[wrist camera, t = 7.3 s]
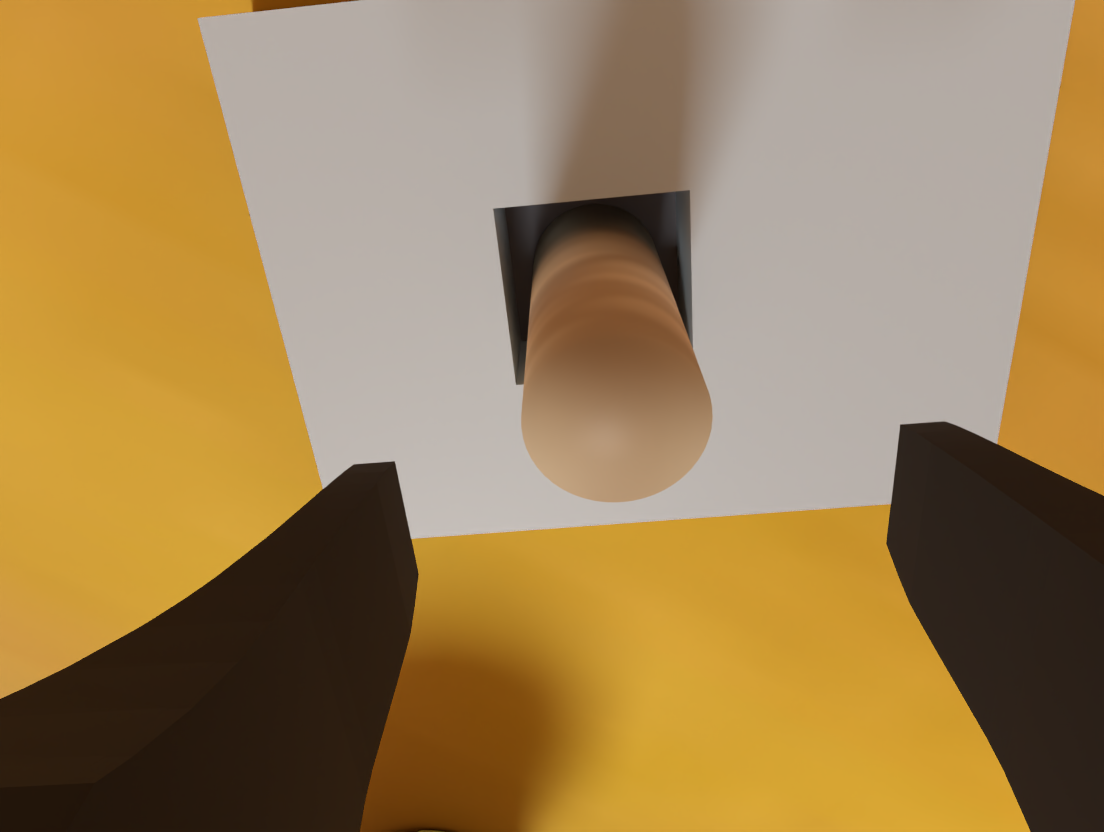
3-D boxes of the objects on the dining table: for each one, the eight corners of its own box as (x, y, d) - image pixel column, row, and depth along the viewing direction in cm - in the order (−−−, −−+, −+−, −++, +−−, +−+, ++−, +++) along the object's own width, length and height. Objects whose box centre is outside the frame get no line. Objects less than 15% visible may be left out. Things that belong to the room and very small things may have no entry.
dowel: (648, 192, 19) (701, 317, 12) (664, 311, 20) (722, 486, 13) (521, 217, 19) (502, 353, 12) (546, 333, 21) (541, 515, 14)
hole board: (1006, -70, 17) (1089, -81, 14) (937, 436, 22) (987, 496, 20) (251, 13, 18) (197, 17, 15) (363, 480, 23) (338, 543, 21)
